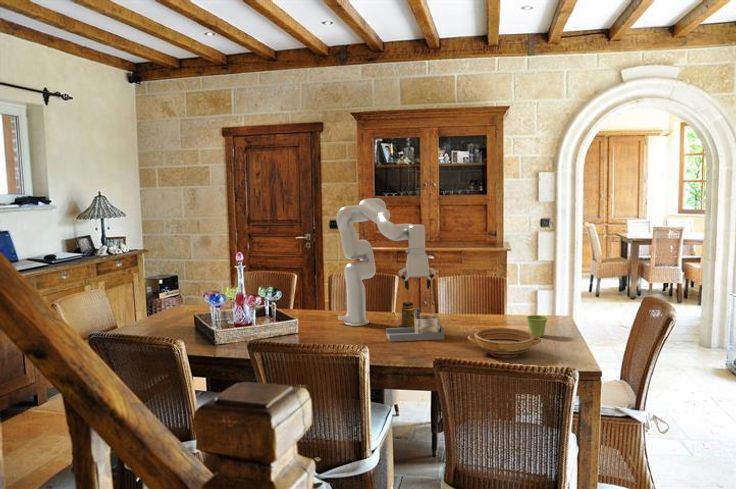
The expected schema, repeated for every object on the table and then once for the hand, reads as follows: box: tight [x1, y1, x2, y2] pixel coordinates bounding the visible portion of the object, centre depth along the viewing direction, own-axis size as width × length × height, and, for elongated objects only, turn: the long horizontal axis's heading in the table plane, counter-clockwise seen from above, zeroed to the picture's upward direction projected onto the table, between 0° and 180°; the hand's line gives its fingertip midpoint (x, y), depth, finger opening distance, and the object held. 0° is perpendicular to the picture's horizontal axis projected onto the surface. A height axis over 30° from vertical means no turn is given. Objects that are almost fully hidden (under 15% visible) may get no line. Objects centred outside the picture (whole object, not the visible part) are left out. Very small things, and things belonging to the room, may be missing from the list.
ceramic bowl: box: [467, 327, 542, 359], centre depth 238 cm, size 30×24×8 cm
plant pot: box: [525, 314, 549, 338], centre depth 265 cm, size 9×9×9 cm
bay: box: [385, 323, 445, 342], centre depth 267 cm, size 25×12×5 cm, turn 96°
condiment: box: [395, 301, 415, 328], centre depth 286 cm, size 7×8×12 cm
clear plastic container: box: [414, 306, 441, 333], centre depth 267 cm, size 10×9×12 cm
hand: (417, 288), depth 265 cm, fingers open, 9 cm apart
